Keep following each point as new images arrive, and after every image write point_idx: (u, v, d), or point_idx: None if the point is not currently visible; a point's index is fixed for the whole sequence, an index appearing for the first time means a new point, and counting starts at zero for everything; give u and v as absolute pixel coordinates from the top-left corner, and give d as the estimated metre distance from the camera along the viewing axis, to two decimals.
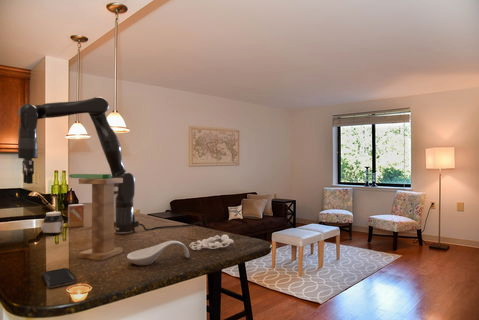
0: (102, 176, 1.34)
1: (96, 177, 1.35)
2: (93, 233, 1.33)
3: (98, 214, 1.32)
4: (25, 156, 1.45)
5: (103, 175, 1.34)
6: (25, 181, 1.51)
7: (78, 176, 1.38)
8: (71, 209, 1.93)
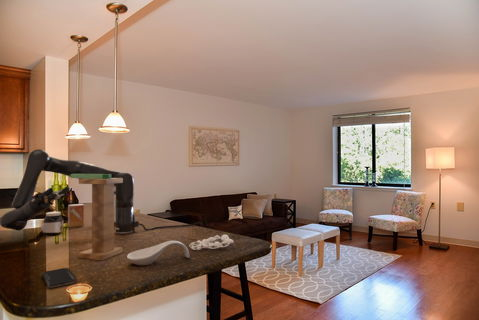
0: (102, 176, 1.34)
1: (96, 177, 1.35)
2: (93, 233, 1.33)
3: (98, 214, 1.32)
4: (36, 205, 1.42)
5: (103, 175, 1.34)
6: (67, 189, 1.46)
7: (78, 176, 1.38)
8: (71, 209, 1.93)
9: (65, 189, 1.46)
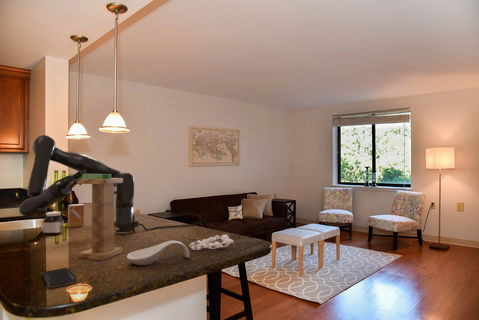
0: (102, 176, 1.34)
1: (96, 177, 1.35)
2: (93, 233, 1.33)
3: (98, 214, 1.32)
4: (57, 191, 1.38)
5: (103, 175, 1.34)
6: None
7: None
8: (71, 209, 1.93)
9: None
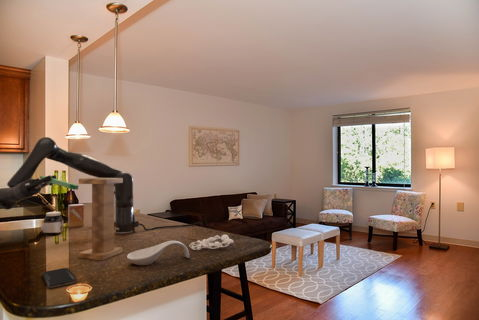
0: (69, 185, 1.38)
1: (63, 185, 1.39)
2: (93, 233, 1.33)
3: (98, 214, 1.32)
4: (26, 190, 1.43)
5: (70, 185, 1.38)
6: (54, 178, 1.43)
7: None
8: (71, 209, 1.93)
9: None
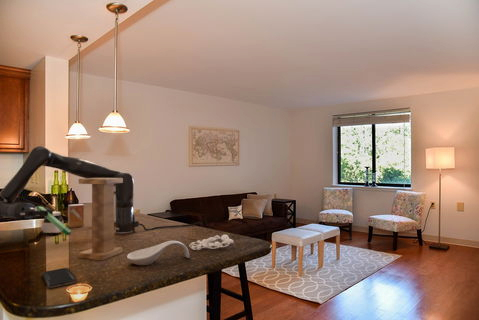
0: (63, 229, 1.39)
1: (57, 226, 1.40)
2: (93, 233, 1.33)
3: (98, 214, 1.32)
4: (20, 215, 1.44)
5: (64, 229, 1.39)
6: (50, 213, 1.44)
7: None
8: (71, 209, 1.93)
9: None
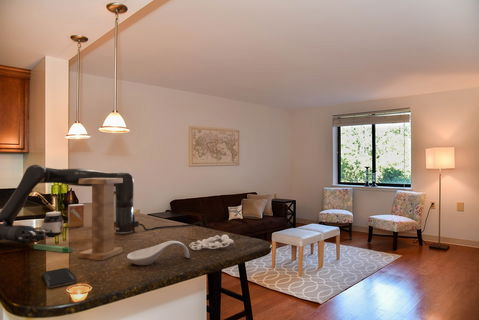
0: (62, 249, 1.39)
1: (57, 250, 1.40)
2: (93, 233, 1.33)
3: (98, 214, 1.32)
4: None
5: (63, 249, 1.39)
6: (52, 236, 1.46)
7: (40, 247, 1.43)
8: (71, 209, 1.93)
9: (51, 234, 1.46)
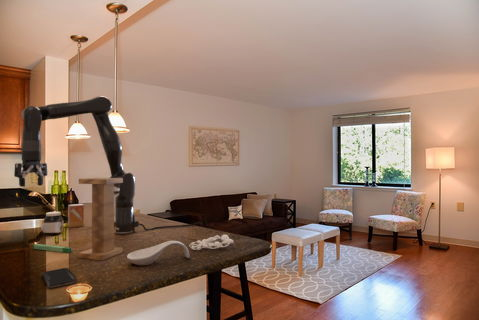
0: (62, 249, 1.39)
1: (57, 250, 1.40)
2: (93, 233, 1.33)
3: (98, 214, 1.32)
4: (22, 159, 1.44)
5: (63, 249, 1.39)
6: (38, 184, 1.51)
7: (40, 247, 1.43)
8: (71, 209, 1.93)
9: (39, 182, 1.50)
